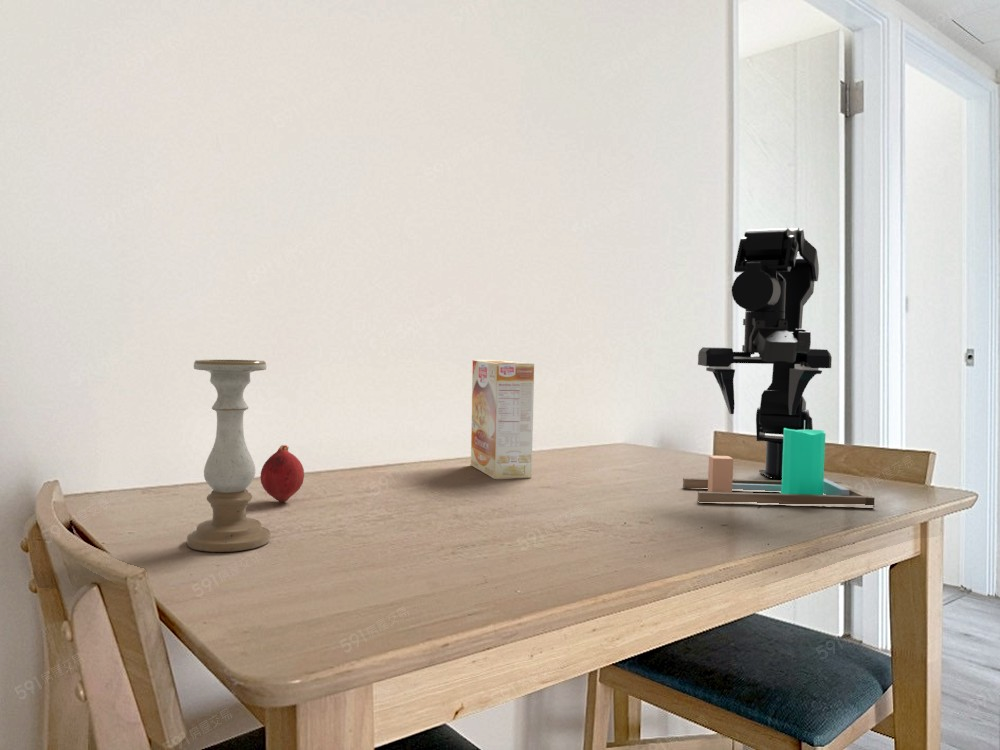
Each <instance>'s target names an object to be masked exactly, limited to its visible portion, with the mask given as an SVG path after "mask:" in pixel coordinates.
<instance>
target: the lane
mask: <svg viewBox="0 0 1000 750" xmlns="http://www.w3.org/2000/svg"><path fill="white" fill-rule="evenodd" d="M833 482H834V483H836V484H838V485H840V486H842V487H845V488H847V489H849V496H844V495H810V494H781V493H753V492H708V490H702V491H701V490H699V491H698V490H697V502H698V501H699V502H757V503H779V504H865V505H874V506H875V497H874V496H872V495H869V494H867V493H865V492H863V491H861V490H859V489H856V488H854V487H852V486H849V484H848V485H847V484H846V483H843V482H841V481H833ZM733 483H741V484H775V485H782V480H775V479H773V480H772V479H771V480H770V479H742V478H737V479H736V478H733ZM683 487H684V488H708V477H706V478H704V477H683V478H682V488H683ZM684 488H683V489H684Z"/></svg>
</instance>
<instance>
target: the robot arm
mask: <svg viewBox="0 0 1000 750" xmlns="http://www.w3.org/2000/svg"><path fill="white" fill-rule="evenodd" d="M738 243H739V244H738V248H737V254H736V258H735V263H734V269H733V271H734V273H737V274H738V273H739V275H738V276H736V278H735V280H733V283H732V286H731V296H732V299H733V300H734V302H735V303H736V305H738V306H739V307H740V308H742V309H744V310H745V315H744V318H742V319H743V320H742V325H743V326H744V344H742V345H741V346H742V348H741V350H742V351H734V350H733V348H730V347H701V348H700V349H699V351H698V354H697V366H703V367H706V369H705V370H706V371H707V372H711V373H712V374H713V375H714V377H715V379H716V383H718V385H719V388H720V391H721V394H722V396H723V399H724V402H725V405H726V408H727V410H728V411H727V412H728V413H729V415H734V414H735V388H734V387H735V386H734V384H735V383H734V379H735V373H736V369H733V368H732V364H758V365H759V364H762V365H764V364H765V365H766V364H769V365H772V375H771V376H772V377H771V383H770V384H769V386H768V387H767V388H766V389H764V390H763V392H762V393H761V395H760V403H759V404H760V406H758V407H757V409H756V413H755V425H756V426H755V429H756V441H757V442H766V443H765V444H766V447H765V448H766V449H765V467H764V468H765V469H759V470H758V473H759V472H761V473H762V474H761V473H760V474H761V475H763V474H764V475H765V476H764V475H763V476H764V477H766V476H767V477H766V478H768V477H772V478H771V479H780V478H782V459H783V433H784V428H787V429H793V430H804V420H805V429H808V430H814V429H813V417H811V415H810V412H809V409H806V408H807V401H806V399H805V398H804V395H803V394H804V391H805V389H806V388H807V386H808V384H809V382H810V381H811V380H812V379H813V378H814V377H815V376H816V375H821V374H823V373H822V372H823V370H821V369H832V360H833V359H832V355H831V353H830V351H829V350H828V349H821V348H811V339H812V338H811V336H812V335H811V331H810V330H809V328H802V327H803V316H804V315H803V314H804V306H805V305H806V303H807V302H808V301H809V300H810V299H811V297H812V295H813V294H814V291H815V282H818V280H819V274H820V273H819V272H820V271H819V269H820V267H819V258H818V250H817V248H815V246H813V244H812V243H810V242H809V241H808V240H807V239H806V238H805V232H804V229H803V228H800V227H789V228H788V227H784V228H783V227H781V228H779V227H778V228H777V227H776V228H757V229H755V228H754V229H747V230H746V231H745V232H744V236H743V237H742V236H741V238H740V240H739V242H738ZM798 254H799V255H798ZM755 354H758V355H759V356H758V355H757V356H752V355H755ZM819 369H820V370H819ZM766 434H767V435H766ZM768 434H769V435H768Z"/></svg>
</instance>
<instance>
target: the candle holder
mask: <svg viewBox="0 0 1000 750" xmlns="http://www.w3.org/2000/svg"><path fill="white" fill-rule="evenodd" d="M193 369H194V370H197V371H205V372H208V373H210V379H209V382H210V384H212V386H214V388H215V391H216V392H217V398H216V400H215V402H214V403H213V405H212V407H211V409H212V410H214V411H215V413H216V433H215V440H214V443H213V446H212V448H211V451H210V452H209V455H208V456H207V460H206V462H205V465H204V469H203V476H204V481H205V483H206V485H208V487H210V488H211V489H212V491H211V492H210V493H209V494H208V495H207V496H206V501H207V502H208V503H209V504H210V507H211V510H212V519H208V520H204V521H202V522H200V523H199V524H198V525H197V526H196V529H195V530H193V531H191V532H190V533H188V534H187V538H186V543H187V546H188V548H190V549H192V550H195V551H201V552H210V553H211V552H212V553H216V552H217V553H230V552H240V551H246V550H251V549H252V550H253V549H256V548H259V547H262V546H264V545H266V544H268V543H269V542H270V540H271V532H270V530H269V529H268V528H267V527H263V526H262V523H261V521H259V519H255V518H251V517H247V515H246V513H247V508H248V505H249V502H251V500H252V498H253V495H252V493H251V492H249V491H248V490H247V488H248V487H249V486H250V485H251V484H252V482H253V480H255V479H254V478H255V477H256V466H255V463H254V460H253V457H252V455H251V453H250V450H249V449H248V446H247V443H246V441H245V436H244V435H245V433H244V415H245V411H247V410H248V409H249V405H248V404H247V403H246V400H245V399H244V391H245V388H246V387H247V386H248V385H249V384H251V373H253V372H257V371H258V372H259V371H266V370H267V363H266V361H264V360H256V359H255V360H251V359H197V360H196V359H195V361H194V363H193Z"/></svg>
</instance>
